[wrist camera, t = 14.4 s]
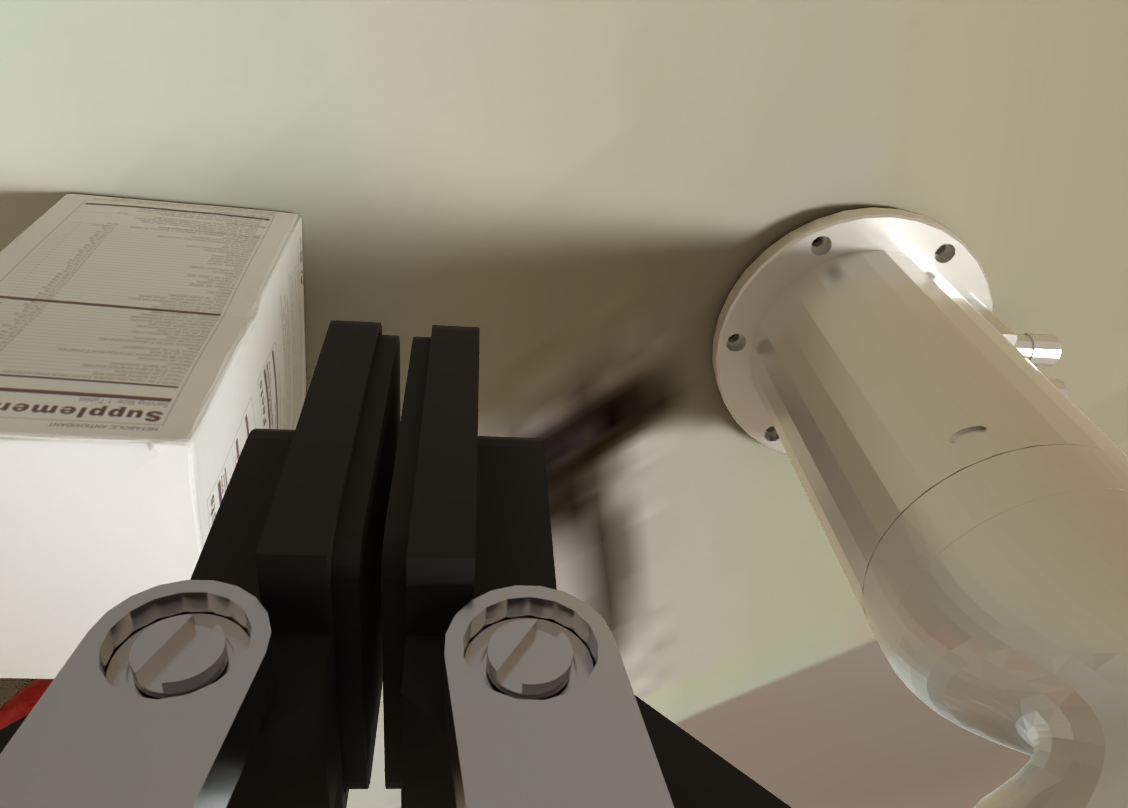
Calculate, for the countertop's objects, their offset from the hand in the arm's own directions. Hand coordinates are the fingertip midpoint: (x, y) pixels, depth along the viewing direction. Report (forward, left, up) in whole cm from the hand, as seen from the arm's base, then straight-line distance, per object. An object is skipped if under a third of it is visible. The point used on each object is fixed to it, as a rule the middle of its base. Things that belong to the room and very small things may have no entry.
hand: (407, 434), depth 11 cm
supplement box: (+11, +12, -27) cm, 32 cm away
